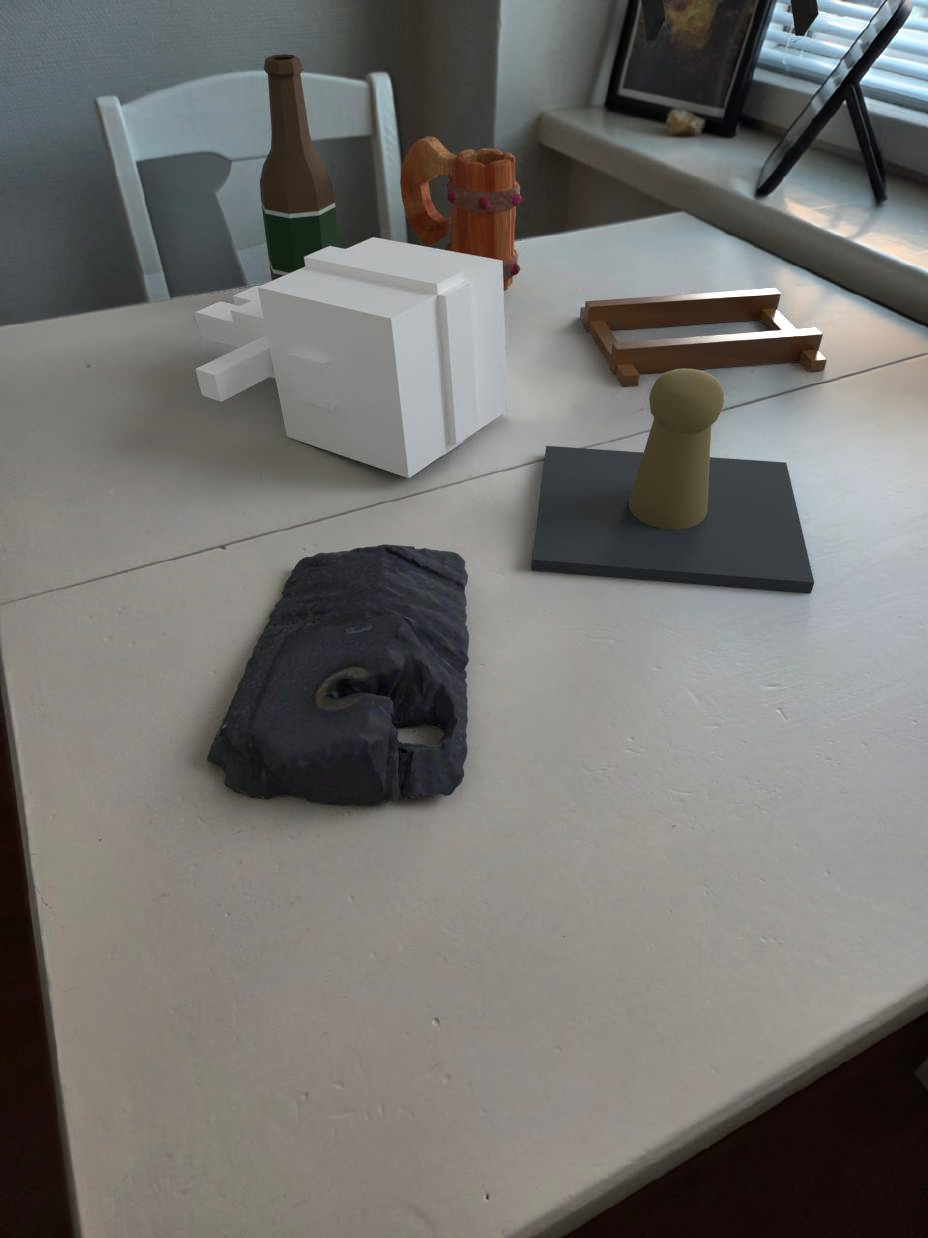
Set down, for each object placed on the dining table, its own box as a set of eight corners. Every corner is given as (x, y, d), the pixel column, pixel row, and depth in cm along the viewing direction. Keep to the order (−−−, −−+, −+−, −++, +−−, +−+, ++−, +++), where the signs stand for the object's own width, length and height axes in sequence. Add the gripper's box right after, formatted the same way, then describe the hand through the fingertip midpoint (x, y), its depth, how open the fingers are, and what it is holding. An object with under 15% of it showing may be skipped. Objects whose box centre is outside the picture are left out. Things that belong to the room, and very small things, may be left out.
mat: (783, 472, 80) (786, 462, 79) (811, 593, 68) (814, 582, 67) (545, 455, 81) (546, 445, 81) (531, 570, 70) (531, 559, 69)
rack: (577, 317, 103) (579, 292, 101) (761, 304, 105) (766, 279, 103) (620, 387, 91) (623, 359, 89) (826, 370, 93) (833, 343, 92)
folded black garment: (498, 576, 69) (499, 522, 66) (458, 822, 53) (458, 766, 49) (293, 559, 70) (285, 506, 67) (192, 794, 54) (175, 738, 51)
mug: (534, 284, 109) (541, 143, 99) (500, 310, 104) (504, 163, 94) (427, 260, 115) (423, 124, 105) (389, 283, 110) (382, 142, 100)
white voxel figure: (329, 339, 102) (548, 396, 89) (145, 433, 88) (372, 520, 74) (307, 194, 93) (547, 232, 79) (97, 272, 78) (346, 336, 64)
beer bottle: (319, 284, 109) (295, 44, 93) (358, 306, 105) (340, 58, 89) (260, 302, 105) (224, 55, 89) (298, 325, 101) (267, 70, 85)
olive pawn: (671, 539, 71) (695, 406, 63) (612, 503, 74) (628, 374, 67) (723, 510, 74) (752, 379, 66) (664, 476, 77) (685, 349, 70)
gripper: (813, -169, 88) (845, 51, 86) (551, -168, 84) (580, 60, 83) (856, -248, 80) (892, -9, 79) (570, -250, 77) (602, -1, 76)
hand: (732, 27), depth 81 cm, fingers open, 13 cm apart
